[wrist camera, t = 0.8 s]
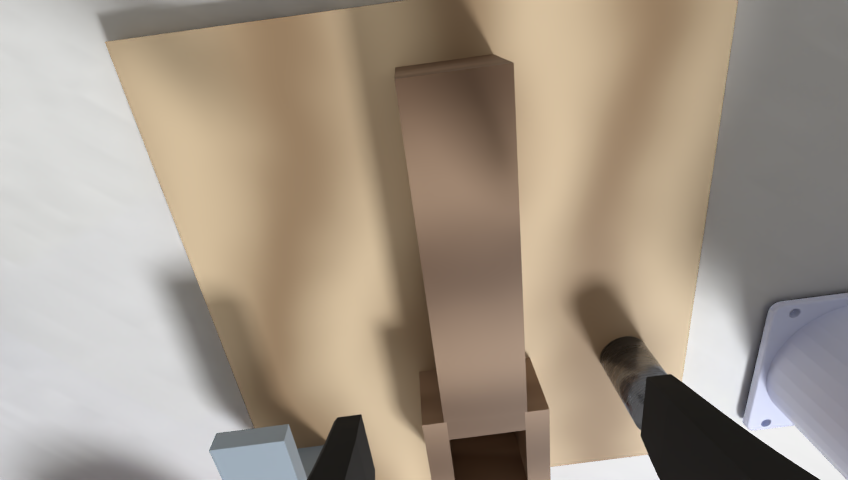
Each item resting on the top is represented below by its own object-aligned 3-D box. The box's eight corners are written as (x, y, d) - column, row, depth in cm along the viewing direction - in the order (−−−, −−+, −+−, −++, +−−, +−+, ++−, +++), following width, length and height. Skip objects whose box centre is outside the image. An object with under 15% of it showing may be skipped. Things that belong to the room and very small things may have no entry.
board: (729, -44, 16) (744, -47, 15) (664, 439, 26) (671, 451, 25) (117, 40, 16) (105, 41, 16) (285, 487, 26) (282, 501, 25)
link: (532, 437, 24) (550, 493, 21) (431, 449, 24) (436, 508, 21) (519, 50, 16) (545, 58, 13) (369, 71, 16) (362, 83, 13)
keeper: (305, 360, 22) (284, 441, 17) (337, 468, 25) (325, 558, 21) (245, 368, 22) (209, 450, 18) (284, 475, 25) (261, 566, 21)
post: (648, 333, 22) (692, 389, 19) (644, 370, 23) (685, 429, 19) (600, 339, 22) (635, 396, 19) (599, 376, 23) (632, 436, 20)
